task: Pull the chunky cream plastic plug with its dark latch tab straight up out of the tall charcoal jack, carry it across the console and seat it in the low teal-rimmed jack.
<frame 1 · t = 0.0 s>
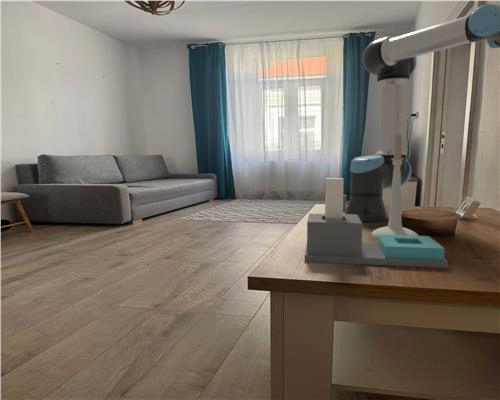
plug: (333, 228, 87), point 6 cm above the table, touching console
candlestick: (394, 236, 107), on the table
console: (369, 256, 86), on the table
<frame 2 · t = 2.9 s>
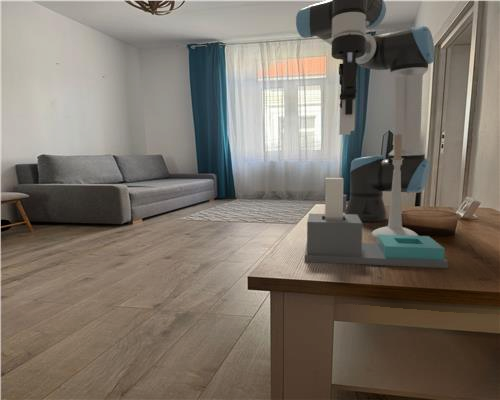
hand: (346, 133, 85), 29 cm above the table, fingers open, 13 cm apart
nothing on the table moved.
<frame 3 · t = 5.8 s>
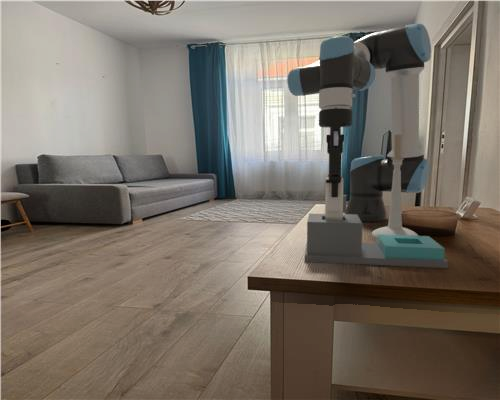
hand: (333, 209, 87), 11 cm above the table, fingers closed on plug, 4 cm apart
plug: (333, 228, 87), point 7 cm above the table, touching console, gripper
everything else where it was.
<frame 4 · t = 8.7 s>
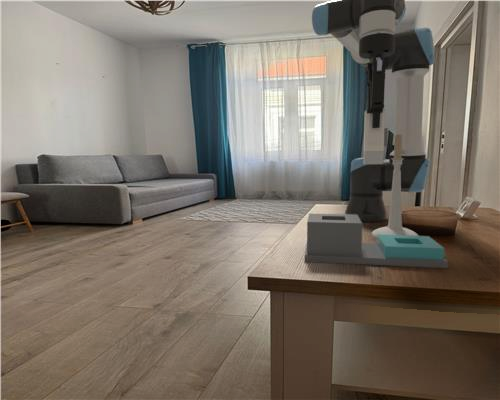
hand: (373, 143, 83), 26 cm above the table, fingers closed on plug, 4 cm apart
plug: (372, 164, 84), point 22 cm above the table, touching gripper
everything else where it was.
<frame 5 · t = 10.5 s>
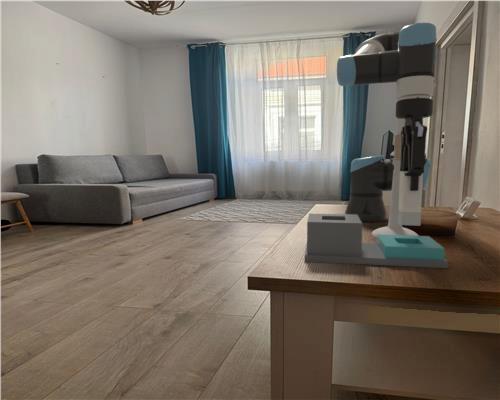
hand: (409, 203, 83), 13 cm above the table, fingers closed on plug, 4 cm apart
plug: (408, 223, 84), point 8 cm above the table, touching gripper
everything else where it was.
when the fingers open (7 cm above the table, at t = 11.9 s): plug stays where it is, resting on console.
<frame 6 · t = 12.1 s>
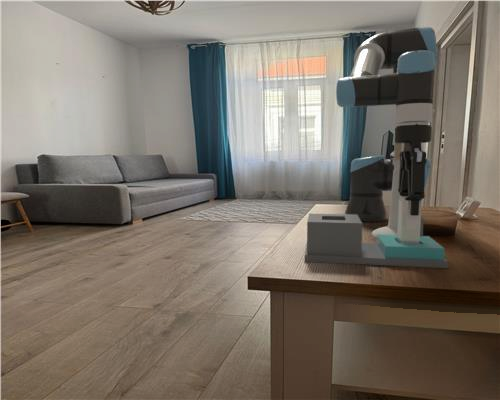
hand: (408, 226, 84), 7 cm above the table, fingers open, 7 cm apart
plug: (407, 251, 85), point 1 cm above the table, touching console
everything else where it was.
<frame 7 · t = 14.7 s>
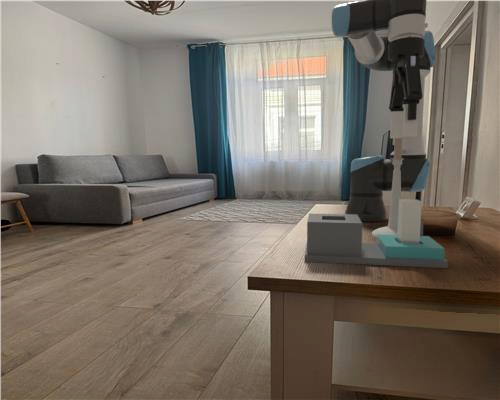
hand: (402, 137, 83), 28 cm above the table, fingers open, 13 cm apart
nothing on the table moved.
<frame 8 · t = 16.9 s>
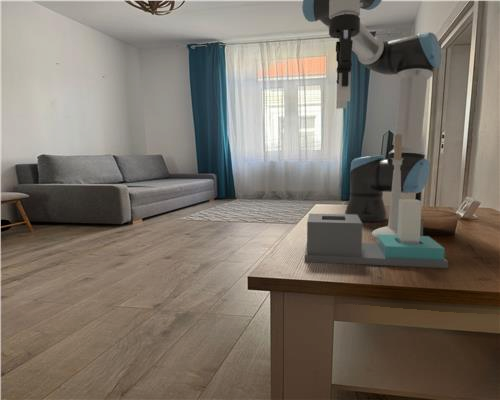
hand: (342, 105, 94), 37 cm above the table, fingers open, 13 cm apart
nothing on the table moved.
at the end: plug 0.0 cm from the target spot on the console, point 1.5 cm above the console's base; plug tilted 0°; the gripper is holding nothing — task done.
